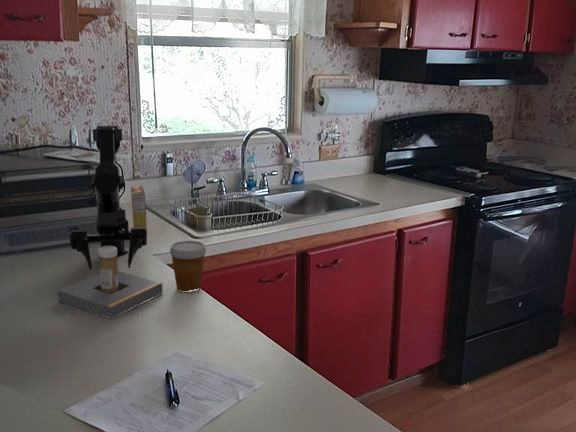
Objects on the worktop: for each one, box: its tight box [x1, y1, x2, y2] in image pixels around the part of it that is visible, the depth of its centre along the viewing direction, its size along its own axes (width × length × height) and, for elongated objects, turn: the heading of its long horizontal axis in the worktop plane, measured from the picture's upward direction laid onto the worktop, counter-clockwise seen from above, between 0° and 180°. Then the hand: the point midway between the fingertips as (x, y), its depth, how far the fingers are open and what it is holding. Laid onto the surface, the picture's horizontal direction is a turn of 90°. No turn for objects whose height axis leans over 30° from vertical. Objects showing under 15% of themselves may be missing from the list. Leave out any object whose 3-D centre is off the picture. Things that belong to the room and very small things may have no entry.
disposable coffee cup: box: [169, 240, 207, 292], centre depth 161 cm, size 10×10×12 cm
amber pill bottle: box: [97, 246, 119, 294], centre depth 153 cm, size 5×5×14 cm
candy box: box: [130, 185, 148, 231], centre depth 206 cm, size 9×4×15 cm, turn 17°
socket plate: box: [57, 270, 164, 318], centre depth 155 cm, size 18×18×3 cm
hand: (110, 268), depth 151 cm, fingers open, 9 cm apart
